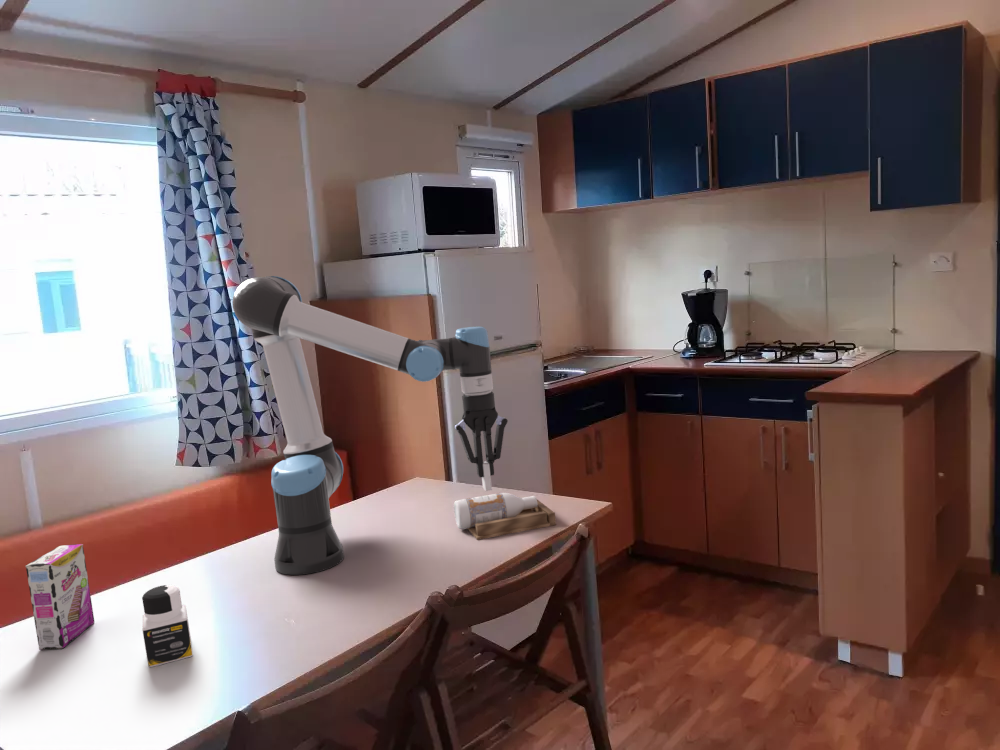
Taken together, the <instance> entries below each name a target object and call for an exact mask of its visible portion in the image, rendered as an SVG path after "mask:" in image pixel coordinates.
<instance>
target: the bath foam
mask: <svg viewBox="0 0 1000 750" xmlns="http://www.w3.org/2000/svg"><path fill="white" fill-rule="evenodd" d="M537 500H538V499H537V496H536V495H531V496H530V495H529V496H524V497H520V496H517V495H515V494H513V493H509V492H497V493H492V494H487V495H480V496H475V497H468V498H462V499H457V500H455V501H454V503H453V514H454V519H455V523H456V526H457V528H458V529H459V530H465V529H467V528H472V527H476V526H475V524H478V523H483V522H489V521H494V520H500V519H505V518H510V517H516V516H517V515H518V514H519V513H520V512H521V511H522V510H525V509H531V508H536V507H537Z"/></svg>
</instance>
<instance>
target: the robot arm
mask: <svg viewBox="0 0 1000 750" xmlns="http://www.w3.org/2000/svg"><path fill="white" fill-rule="evenodd" d="M232 308H233V312H234V314H235V315H234V316H235V317H236V318H237V319H238V321H239V322H240V323H241V324H243V325H244V326H245V327H248V329H249V328H250V329H251V333H252V336H253V340H254V341H255V342H257V343H258V344H261V346H262V347H263V352H264V356H265V360H266V363H267V367H268V372H269V375H270V379H271V383H272V388H273V391H274V395H275V399H276V403H277V407H278V410H279V415H280V419H281V421H282V425H283V426H282V427H283V430H284V434H285V438H286V442H287V444H286V447H284V449H283V451H282V452H283V457H284V459H282V460H281V461H279V462H277V463H276V464H275V465H274V466H273V467H272V470H271V480H270V481H271V487H272V492H273V500H274V506H275V515H276V521H277V522H276V523H277V529H278V536H277V537H278V539H277V543H276V549H275V552H274V553H275V554H274V559H273V560H274V567H275V571H276V572H278V573H279V574H283V575H288V576H289V575H291V576H296V575H298V576H299V575H309V574H313V573H314V574H315V573H318V572H322V571H325V570H328V569H330V568H333V567H334V566H336V565H338V564H340V563H341V562H342V561H343V559H344V557H345V555H344V547H343V545H342V543H341V541H340V539H339V536H338V535H337V532H336V530H335V529H334V526H333V522H332V516H331V515H332V514H331V513H332V512H331V508H330V500H329V499H330V497H332V495H333V493H335V492H336V491H337V489H338V488H339V486H340V485H341V482H342V480H343V477H344V476H343V474H344V463H343V461H342V459H341V457H340V455H339V454H338V453H337V452H336V451H335V447H334V443H333V439H332V438H331V437H329V436H327V435H326V434H325V433H324V430H323V427H322V426H323V425H322V422H321V418H320V414H319V413H320V412H319V409H318V406H317V402H316V398H315V394H314V389H313V386H312V382H311V378H310V374H309V370H308V364H307V362H306V359H305V358H306V357H305V352H304V349H303V347H302V345H303V344H302V342H301V339H302V340H305V341H307V342H311V343H313V344H317V345H319V346H323V347H325V348H328V349H332V350H335V351H337V352H341V353H343V354H347V355H349V356H353V357H354V358H355V357H356V358H359V359H362V360H364V361H368V362H371V363H373V364H374V363H375V364H377V365H381V366H383V367H387V368H389V369H391V370H395V371H398V372H400V373H403V374H406V375H409V376H411V378H413V379H414V380H416V381H418V382H421V383H423V382H424V383H427V382H431V381H432V380H434V379H436V378H438V376H440V374H441V373H442V372H444V371H451V370H452V371H455V370H459V378H460V387H461V393H463V394H462V396H461V398H462V408H463V414H462V418H461V419H462V420H460V421H459V422H458V423H455V424H454V425H453V428H454V429H455V430H456V432H457V433H458V435H459V437H460V440H461V443H462V445H463V449H464V451H465V454H466V457H467V460H468V461H469V462H470V463H471V464H476V472H477V473H476V474H477V476H478V477H479V478H481V482H482V489H483V490H484V491H485V492H488V491H489V492H490V491H492V490H493V488H492V486H493V485H492V478H491V477H492V476H495V468H494V463H495V461H497V460H500V458H501V456H502V448H503V441H504V433H505V428H506V426H507V424H508V419H507V418H506V417H503V416H500V415H499V414H498V413H499V412H498V411H497V409H496V402H495V393H494V392H493V389H494V384H493V383H494V382H493V381H494V380H493V371H492V360H491V359H492V358H491V349H490V348H491V347H490V342H489V341H490V340H489V335H488V330H487V329H486V327H483V326H468V327H460V328H457V329H456V330H455V336H453V337H449V338H437V339H436V338H435V339H425V340H423V339H418V340H415V339H412V338H409V337H405V336H402V335H399V334H397V333H394V332H391V331H388V330H384V329H382V328H379V327H376V326H373V325H370V324H367V323H364V322H361V321H358V320H355V319H352V318H349V317H347V316H344V315H341V314H337V313H335V312H332V311H328V310H326V309H322V308H319V307H316V306H314V305H310V304H308V303H304V302H303V298H302V295H301V293H300V290H299V289H298V287H297V286H296V285H295V284H294V283H292V282H291V281H289V280H288V279H286V278H283V277H280V276H277V275H271V276H259V277H252V278H249V279H246V280H245V281H243V282H242V283H241V284H239V286H238V287H236V290H235V291H234V294H233V296H232ZM494 424H496V428H495V435H494V443H493V441H492V428H493V426H494ZM466 426H467V427H468V429H469V430H470V431H471V433H472V436H473V437H472V438H473V448H474V452H473V450H472V446H471V444H470V441H469V438H468V435H467V433H466ZM481 432H482V433H483V441H484V442H483V443H484V453H485V461H484V458H483V448H482V447H483V446H482V438H481V437H482V433H481Z"/></svg>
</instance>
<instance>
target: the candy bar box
mask: <svg viewBox="0 0 1000 750" xmlns="http://www.w3.org/2000/svg"><path fill="white" fill-rule="evenodd" d="M25 568H26V569H25V571H26V576H27V577H26V578H27V581H28V588H29V594H30V601H31V605H32V612H33V613H32V614H33V620H34V626H35V633H36V638H37V645H38V650H40V651H45V650H61V649H64V648H66V647H67V646H68V645H69V644H71V643H72V642H73V641H74V640H75V639H76V638H77V637H79V635H81V634H82V633H83V632H85V631H86V630H87V629H89V628H90V627H91V626H92V625H94V623H95V616H94V608H93V603H92V597H91V596H92V595H91V591H90V584H89V577H88V576H89V575H88V569H87V562H86V557H85V550H84V544H82V543H80V544H66V545H59V546H57V547H55V548H54V549H52V550H51V551H48V552H47V553H45V554H43V555H42V556H39V557H38V558H37V559H35V560H33V561H31V562H30V563H28V564H27V565H25Z"/></svg>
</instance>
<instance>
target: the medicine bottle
mask: <svg viewBox="0 0 1000 750" xmlns="http://www.w3.org/2000/svg"><path fill="white" fill-rule="evenodd" d="M141 599H142V600H141V601H142V605H143V611H144V613H143V615H142V630H141V631H142V636H143V642H144V648H145V655H146V659H147V666H148V668H153V667H157V666H161V665H164V664H168V663H173V662H177V661H181V660H184V659H188V658H191V657H192V656H193V655H194V654H193V646H192V638H191V637H192V636H191V630H190V624H189V619H188V611H187V606H186V604H183V603H182V596H181V590H180V588H179V587H178V586H177V585H172V584H165V585H158V586H156V587H153V588H151V589H149V590H148V591H145V593H143V595H142V596H141Z"/></svg>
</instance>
